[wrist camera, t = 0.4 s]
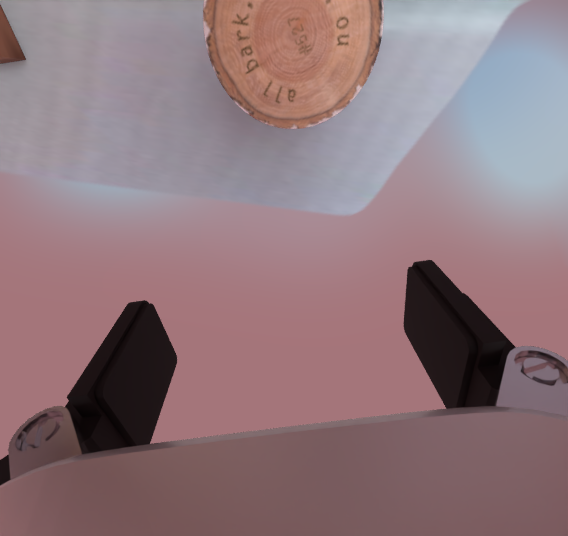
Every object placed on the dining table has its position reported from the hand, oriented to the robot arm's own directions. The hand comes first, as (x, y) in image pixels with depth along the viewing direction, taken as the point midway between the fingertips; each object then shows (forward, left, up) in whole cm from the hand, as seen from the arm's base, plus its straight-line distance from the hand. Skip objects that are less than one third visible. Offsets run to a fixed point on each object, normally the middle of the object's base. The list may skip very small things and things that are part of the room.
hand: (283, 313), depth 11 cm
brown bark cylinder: (-9, +2, -31) cm, 32 cm away
